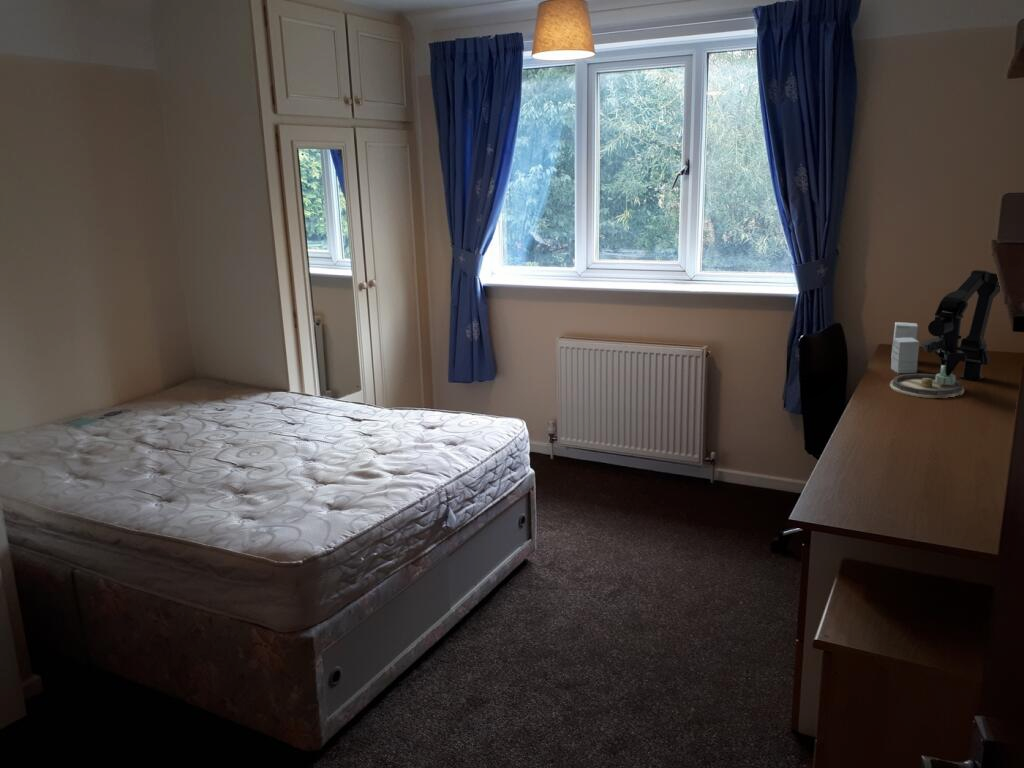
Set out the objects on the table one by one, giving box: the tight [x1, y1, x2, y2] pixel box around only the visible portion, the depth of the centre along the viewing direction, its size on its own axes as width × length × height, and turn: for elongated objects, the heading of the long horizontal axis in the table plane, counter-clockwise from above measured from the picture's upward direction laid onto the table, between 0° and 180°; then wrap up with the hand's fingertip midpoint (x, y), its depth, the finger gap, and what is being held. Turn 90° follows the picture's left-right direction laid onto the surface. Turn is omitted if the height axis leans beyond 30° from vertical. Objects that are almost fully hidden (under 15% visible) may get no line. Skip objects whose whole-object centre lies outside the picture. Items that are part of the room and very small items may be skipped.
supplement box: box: [890, 337, 920, 374], centre depth 309 cm, size 7×7×13 cm
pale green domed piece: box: [935, 364, 957, 385], centre depth 285 cm, size 6×6×6 cm
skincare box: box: [890, 321, 919, 361], centre depth 321 cm, size 8×7×16 cm
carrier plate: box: [889, 373, 965, 399], centre depth 287 cm, size 24×24×4 cm
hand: (945, 374), depth 285 cm, fingers closed on pale green domed piece, 4 cm apart
